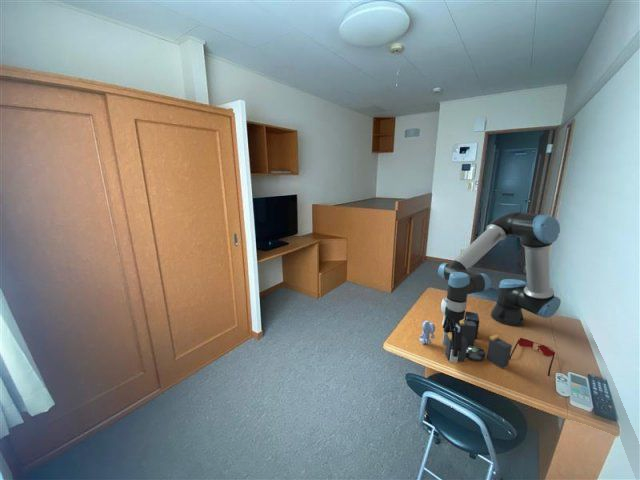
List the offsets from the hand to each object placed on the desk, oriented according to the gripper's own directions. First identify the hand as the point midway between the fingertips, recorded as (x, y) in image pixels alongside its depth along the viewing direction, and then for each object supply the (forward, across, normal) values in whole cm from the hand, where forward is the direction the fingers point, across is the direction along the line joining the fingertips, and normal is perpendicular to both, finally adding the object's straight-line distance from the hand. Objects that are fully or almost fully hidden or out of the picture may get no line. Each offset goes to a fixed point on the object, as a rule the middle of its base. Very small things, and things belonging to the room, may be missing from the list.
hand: (449, 353), depth 118 cm
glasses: (+3, -5, +36) cm, 37 cm away
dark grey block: (+2, 0, +2) cm, 3 cm away
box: (+3, -21, +16) cm, 27 cm away
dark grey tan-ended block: (+2, 0, +20) cm, 20 cm away
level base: (+2, -4, +11) cm, 12 cm away
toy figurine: (+3, -10, -8) cm, 13 cm away
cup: (+3, -27, +8) cm, 28 cm away
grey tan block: (+2, -14, +11) cm, 18 cm away
